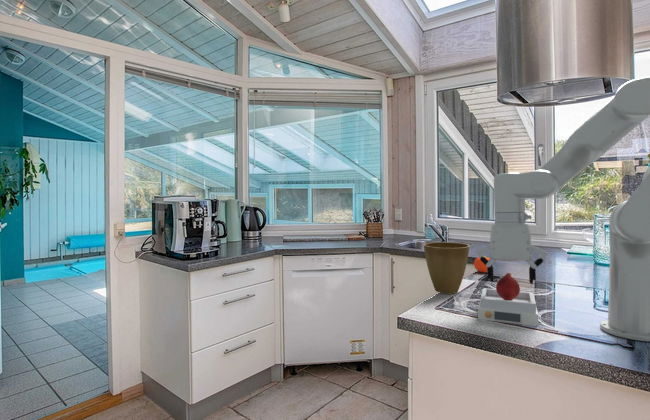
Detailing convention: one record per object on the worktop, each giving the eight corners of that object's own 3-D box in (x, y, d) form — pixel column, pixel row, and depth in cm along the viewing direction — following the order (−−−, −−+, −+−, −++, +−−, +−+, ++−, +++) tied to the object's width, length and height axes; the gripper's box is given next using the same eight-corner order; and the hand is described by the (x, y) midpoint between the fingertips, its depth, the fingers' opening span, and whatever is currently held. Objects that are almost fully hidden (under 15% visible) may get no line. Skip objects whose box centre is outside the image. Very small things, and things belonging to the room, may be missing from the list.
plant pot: (434, 284, 145) (434, 240, 144) (475, 290, 136) (475, 244, 135) (415, 291, 134) (416, 244, 133) (459, 299, 124) (459, 248, 124)
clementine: (482, 270, 173) (482, 253, 172) (496, 272, 167) (496, 255, 167) (470, 271, 168) (470, 255, 168) (484, 274, 163) (485, 257, 162)
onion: (506, 305, 104) (506, 275, 104) (491, 300, 109) (491, 271, 109) (524, 303, 106) (524, 273, 105) (509, 298, 111) (508, 270, 111)
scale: (534, 311, 111) (534, 292, 111) (538, 326, 98) (538, 305, 98) (481, 305, 117) (481, 287, 117) (477, 319, 104) (478, 299, 104)
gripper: (545, 217, 106) (546, 281, 107) (476, 218, 114) (477, 277, 114) (547, 219, 100) (549, 286, 100) (474, 219, 107) (476, 282, 107)
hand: (511, 281), depth 107 cm, fingers open, 9 cm apart
